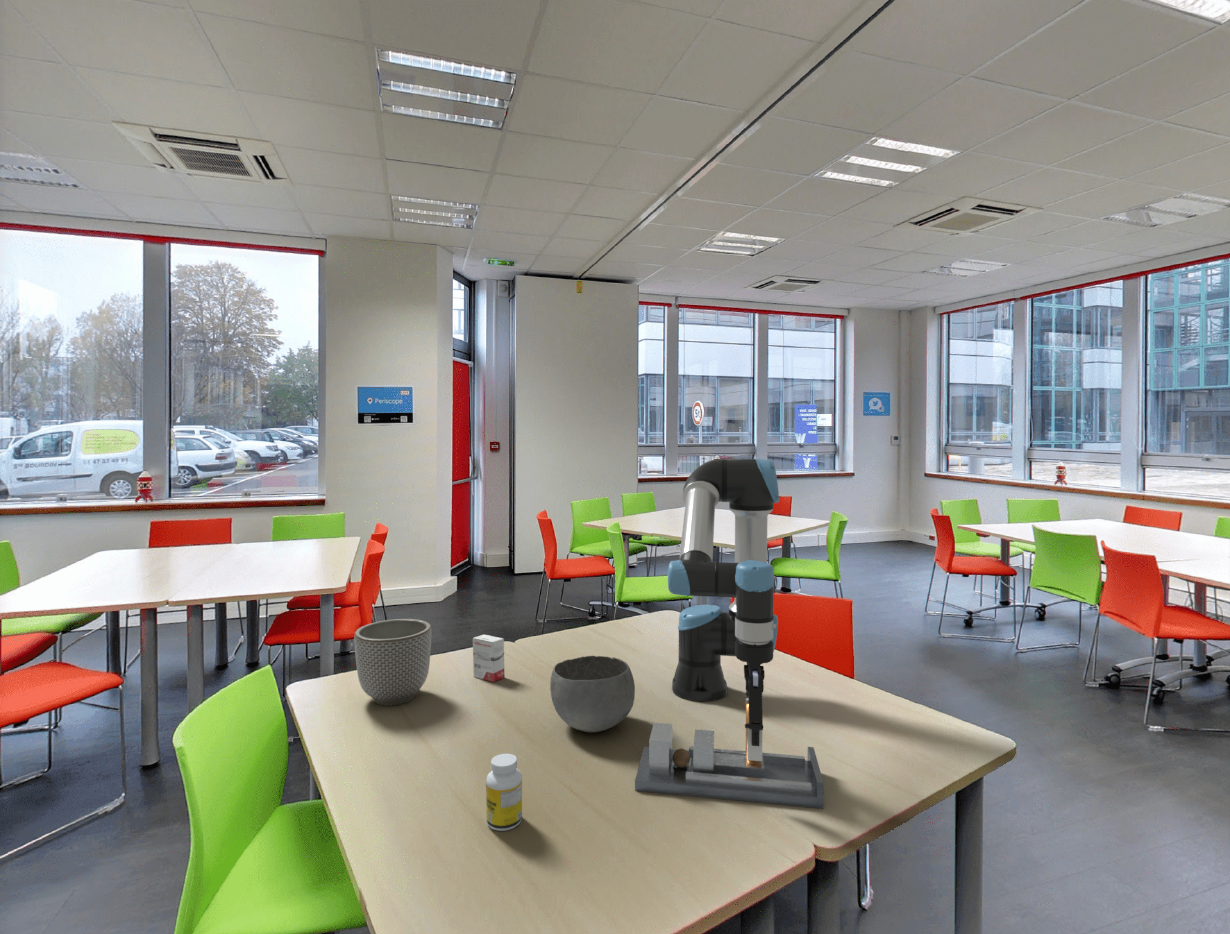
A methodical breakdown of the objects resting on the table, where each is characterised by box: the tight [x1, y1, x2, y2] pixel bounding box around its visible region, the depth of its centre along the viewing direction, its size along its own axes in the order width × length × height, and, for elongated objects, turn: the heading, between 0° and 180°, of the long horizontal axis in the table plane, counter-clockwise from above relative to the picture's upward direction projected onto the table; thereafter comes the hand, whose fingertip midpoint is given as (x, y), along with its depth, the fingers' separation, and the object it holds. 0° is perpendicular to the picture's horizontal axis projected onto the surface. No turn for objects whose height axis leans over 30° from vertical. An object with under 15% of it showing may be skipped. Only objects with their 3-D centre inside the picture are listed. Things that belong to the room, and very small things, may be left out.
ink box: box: [472, 634, 505, 683], centre depth 184 cm, size 9×5×12 cm, turn 58°
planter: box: [353, 618, 432, 706], centre depth 169 cm, size 20×20×19 cm
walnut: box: [673, 748, 690, 768], centre depth 129 cm, size 4×4×4 cm
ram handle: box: [692, 701, 764, 779], centre depth 128 cm, size 14×8×14 cm, turn 80°
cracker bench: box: [634, 722, 825, 810], centre depth 128 cm, size 36×14×9 cm, turn 80°
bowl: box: [549, 655, 636, 734], centre depth 152 cm, size 20×20×15 cm
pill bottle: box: [485, 753, 523, 832], centre depth 114 cm, size 6×6×12 cm
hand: (753, 744), depth 127 cm, fingers open, 12 cm apart
